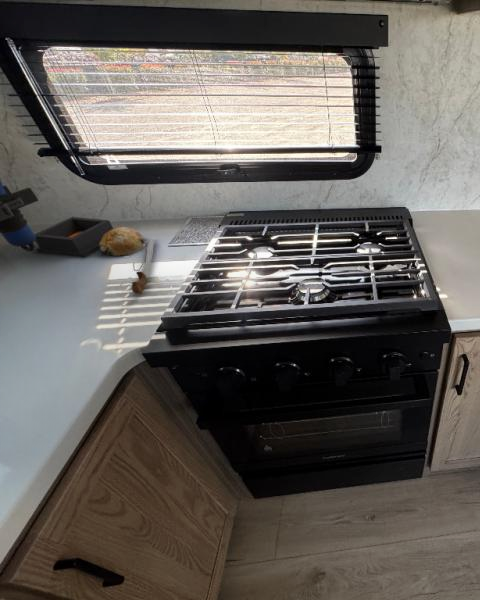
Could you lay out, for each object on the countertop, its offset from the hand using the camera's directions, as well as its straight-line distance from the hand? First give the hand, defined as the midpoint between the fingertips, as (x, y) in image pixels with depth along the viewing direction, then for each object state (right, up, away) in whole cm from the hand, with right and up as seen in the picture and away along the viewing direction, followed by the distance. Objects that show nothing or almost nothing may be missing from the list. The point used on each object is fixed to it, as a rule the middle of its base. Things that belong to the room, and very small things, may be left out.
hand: (20, 193), depth 73 cm
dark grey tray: (-14, -6, +29) cm, 33 cm away
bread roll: (0, -8, +28) cm, 29 cm away
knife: (+12, -14, +20) cm, 28 cm away
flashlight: (-1, -12, +3) cm, 12 cm away
